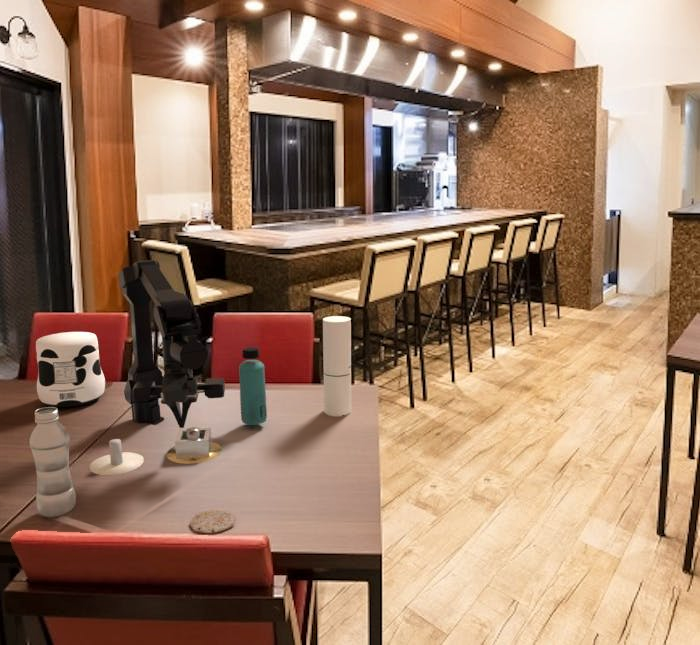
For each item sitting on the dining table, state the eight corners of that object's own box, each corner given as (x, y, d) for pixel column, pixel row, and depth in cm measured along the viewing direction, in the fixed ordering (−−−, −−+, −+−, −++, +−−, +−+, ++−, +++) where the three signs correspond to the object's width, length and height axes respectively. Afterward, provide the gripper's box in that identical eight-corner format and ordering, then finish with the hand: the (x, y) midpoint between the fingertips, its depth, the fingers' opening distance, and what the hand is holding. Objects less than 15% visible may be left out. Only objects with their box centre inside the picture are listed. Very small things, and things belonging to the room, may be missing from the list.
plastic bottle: (45, 504, 120) (33, 404, 116) (82, 503, 121) (71, 403, 116) (31, 522, 114) (18, 417, 109) (70, 521, 114) (59, 416, 110)
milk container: (83, 387, 188) (77, 328, 184) (119, 398, 178) (113, 336, 175) (26, 403, 175) (18, 340, 171) (61, 416, 165) (53, 349, 161)
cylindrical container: (354, 408, 170) (354, 317, 164) (345, 417, 163) (345, 322, 158) (329, 405, 172) (328, 315, 166) (320, 414, 165) (318, 321, 160)
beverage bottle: (262, 431, 154) (259, 352, 150) (236, 429, 156) (233, 351, 151) (271, 421, 161) (268, 345, 156) (246, 420, 162) (242, 344, 157)
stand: (78, 471, 134) (75, 446, 132) (118, 452, 143) (115, 428, 142) (116, 482, 129) (113, 456, 127) (155, 461, 138) (153, 436, 137)
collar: (176, 459, 137) (175, 442, 137) (180, 446, 144) (178, 429, 143) (209, 457, 138) (208, 440, 138) (211, 444, 145) (210, 427, 144)
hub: (155, 460, 139) (152, 434, 138) (191, 440, 149) (190, 416, 148) (198, 471, 134) (196, 444, 132) (232, 449, 144) (231, 424, 143)
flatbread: (183, 533, 111) (182, 527, 110) (200, 511, 118) (200, 506, 118) (227, 537, 109) (227, 532, 109) (242, 515, 117) (242, 510, 116)
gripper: (123, 371, 124) (130, 445, 128) (220, 366, 127) (224, 439, 130) (134, 355, 135) (139, 424, 139) (223, 352, 138) (226, 419, 141)
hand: (182, 427), depth 137 cm, fingers closed
